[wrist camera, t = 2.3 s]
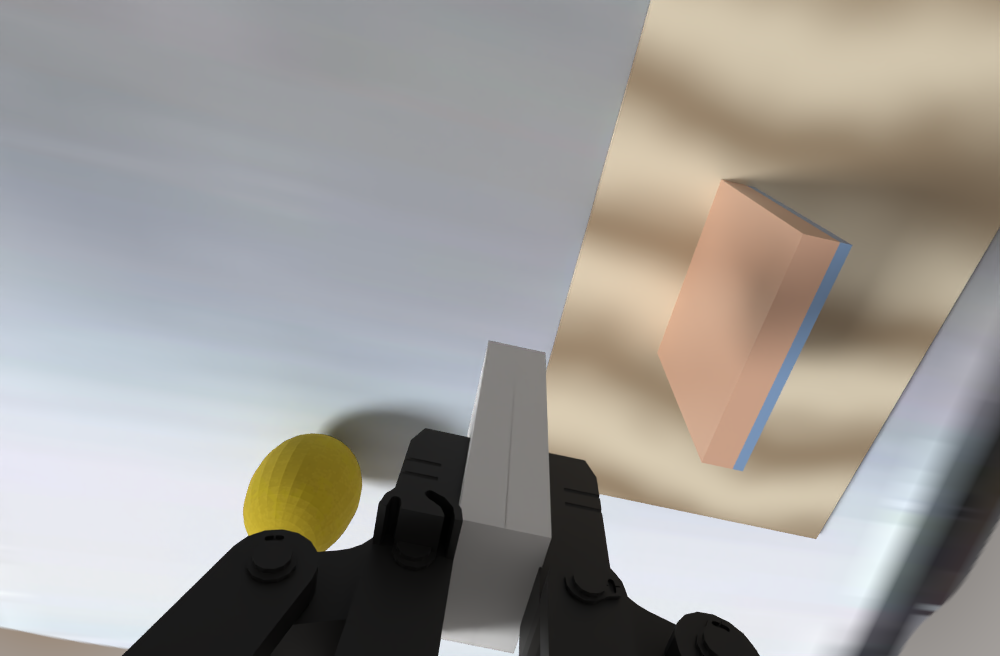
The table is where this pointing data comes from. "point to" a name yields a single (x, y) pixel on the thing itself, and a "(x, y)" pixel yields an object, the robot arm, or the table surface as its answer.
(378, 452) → the table surface
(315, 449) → the lemon
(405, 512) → the robot arm
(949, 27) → the board
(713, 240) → the tile
